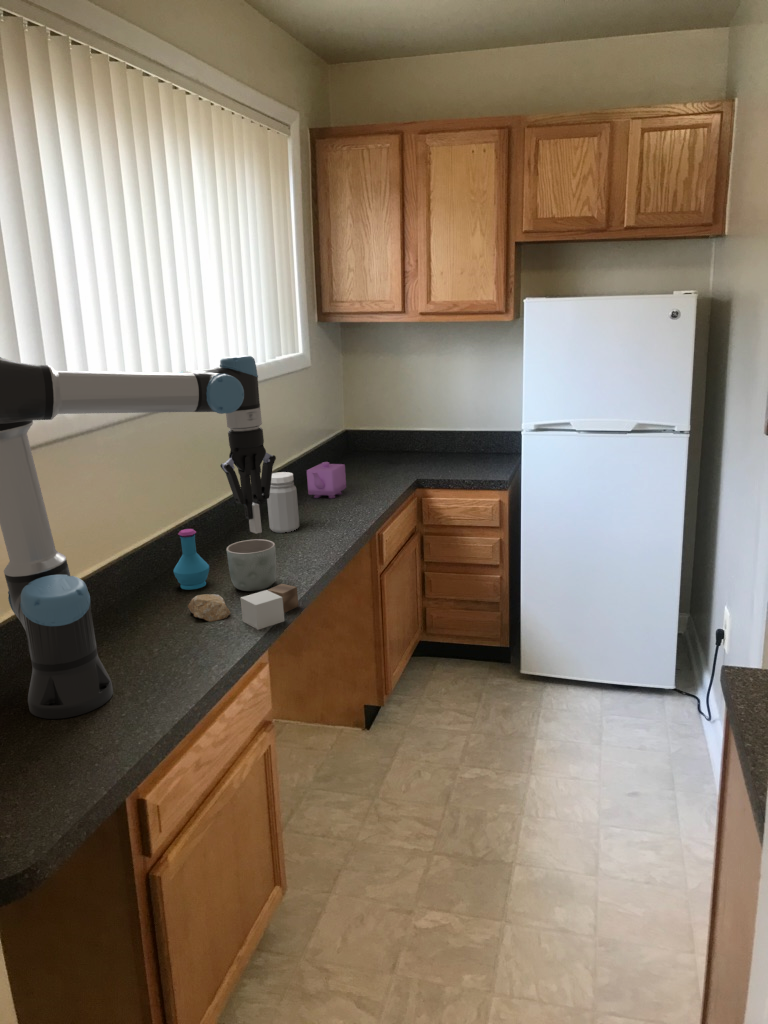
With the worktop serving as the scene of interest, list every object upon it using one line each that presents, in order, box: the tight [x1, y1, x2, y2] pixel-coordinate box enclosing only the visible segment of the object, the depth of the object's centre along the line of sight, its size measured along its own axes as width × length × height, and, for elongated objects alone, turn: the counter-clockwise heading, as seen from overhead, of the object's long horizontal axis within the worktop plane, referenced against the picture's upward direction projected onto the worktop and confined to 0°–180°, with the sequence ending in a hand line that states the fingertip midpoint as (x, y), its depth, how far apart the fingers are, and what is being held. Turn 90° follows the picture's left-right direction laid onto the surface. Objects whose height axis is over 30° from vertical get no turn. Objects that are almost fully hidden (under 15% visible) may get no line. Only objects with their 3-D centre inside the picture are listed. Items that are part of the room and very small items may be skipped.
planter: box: [226, 538, 277, 592], centre depth 217 cm, size 12×12×11 cm
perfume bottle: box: [173, 528, 210, 591], centre depth 220 cm, size 9×9×15 cm
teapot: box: [306, 461, 347, 499], centre depth 310 cm, size 20×10×12 cm, turn 159°
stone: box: [187, 593, 232, 623], centre depth 200 cm, size 8×10×4 cm
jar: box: [266, 471, 300, 534], centre depth 268 cm, size 10×10×18 cm
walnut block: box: [267, 583, 299, 614], centre depth 201 cm, size 5×5×5 cm
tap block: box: [239, 589, 285, 630], centre depth 194 cm, size 7×7×6 cm
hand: (255, 531), depth 189 cm, fingers closed
